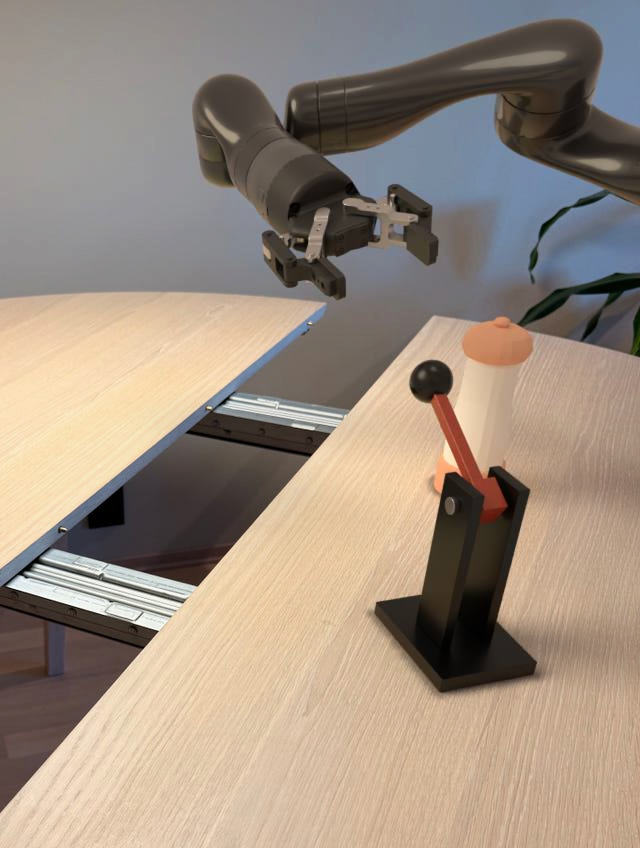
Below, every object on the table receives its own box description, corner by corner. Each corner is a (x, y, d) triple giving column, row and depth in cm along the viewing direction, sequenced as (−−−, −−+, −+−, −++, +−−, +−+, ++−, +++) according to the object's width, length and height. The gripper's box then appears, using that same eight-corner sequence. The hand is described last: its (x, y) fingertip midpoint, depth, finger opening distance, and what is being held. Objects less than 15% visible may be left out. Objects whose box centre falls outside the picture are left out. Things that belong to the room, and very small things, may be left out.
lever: (397, 380, 85) (413, 352, 81) (434, 376, 86) (451, 348, 82) (459, 530, 79) (479, 506, 76) (498, 524, 80) (519, 500, 77)
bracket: (373, 613, 90) (400, 455, 81) (460, 598, 92) (496, 443, 83) (439, 692, 81) (477, 524, 72) (534, 674, 83) (583, 508, 74)
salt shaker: (512, 489, 110) (554, 318, 99) (476, 509, 106) (516, 334, 95) (457, 467, 115) (490, 301, 103) (420, 486, 111) (451, 316, 99)
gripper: (368, 208, 96) (460, 283, 85) (235, 257, 94) (312, 340, 84) (367, 129, 90) (466, 200, 80) (226, 180, 88) (308, 259, 78)
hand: (387, 272), depth 82 cm, fingers open, 8 cm apart
